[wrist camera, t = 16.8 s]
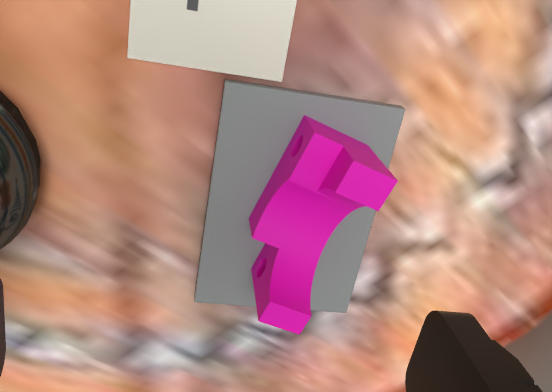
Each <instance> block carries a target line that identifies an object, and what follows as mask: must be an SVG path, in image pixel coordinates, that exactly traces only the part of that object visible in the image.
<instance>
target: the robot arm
mask: <svg viewBox="0 0 552 392" xmlns="http://www.w3.org/2000/svg"><path fill="white" fill-rule="evenodd" d="M5 351H6V341H5V319H4V297H3V284H2V281H1V279H0V376H1V373H2V369H3V365H4V360H5ZM405 383H406V392H542V390H541V389H540V388H539V387H538V385H534V380H533V379H532V377H531V376H530V375H529V373H528V372H527V371H526V369H525V368H524V367H523V366H522V364H521V363H520V362H519V360H518V359H517V358H515V357H514V356H513V355H512V354H511V353H509V352H508V351H507V350H506V349H505V348H503V347H502V346H501V345H500V344H498V343H497V342H496V341H495V340H491V339H490V338H489V336H488V335H487V334H486V332H485V331H484V329H483V328H482V327H481V325H480V324H479V323H478V321H477V320H476V319H475V317H474V316H473V315H471V314H469V313H459V312H446V311H431V312H430V313H429V314H428V315H427V317H426V319H425V321H424V324H423V327H422V329H421V332H420V335H419V337H418V340H417V343H416V345H415V348H414V351H413V354H412V356H411V359H410V362H409V364H408V367H407V371H406V380H405Z"/></svg>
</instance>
